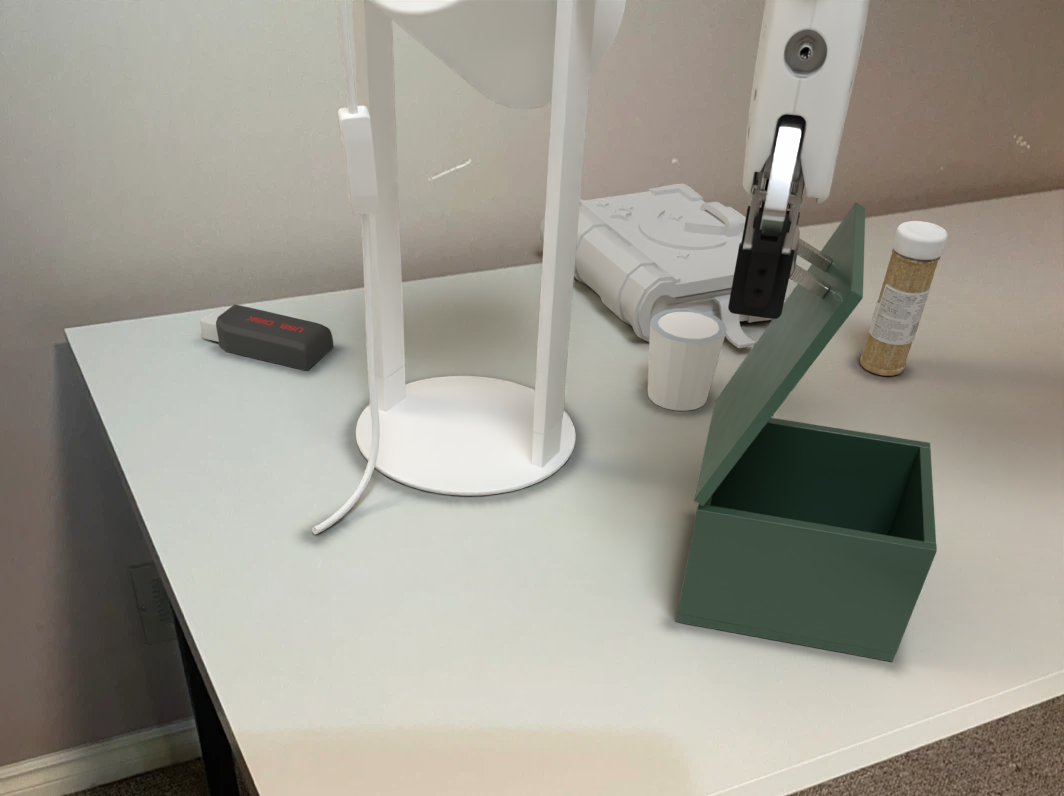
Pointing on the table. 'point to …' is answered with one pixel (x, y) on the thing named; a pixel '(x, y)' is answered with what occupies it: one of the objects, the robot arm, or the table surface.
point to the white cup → (683, 357)
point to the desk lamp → (372, 181)
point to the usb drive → (268, 336)
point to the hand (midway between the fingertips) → (758, 290)
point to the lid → (786, 346)
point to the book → (661, 256)
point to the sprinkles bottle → (903, 296)
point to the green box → (815, 540)
